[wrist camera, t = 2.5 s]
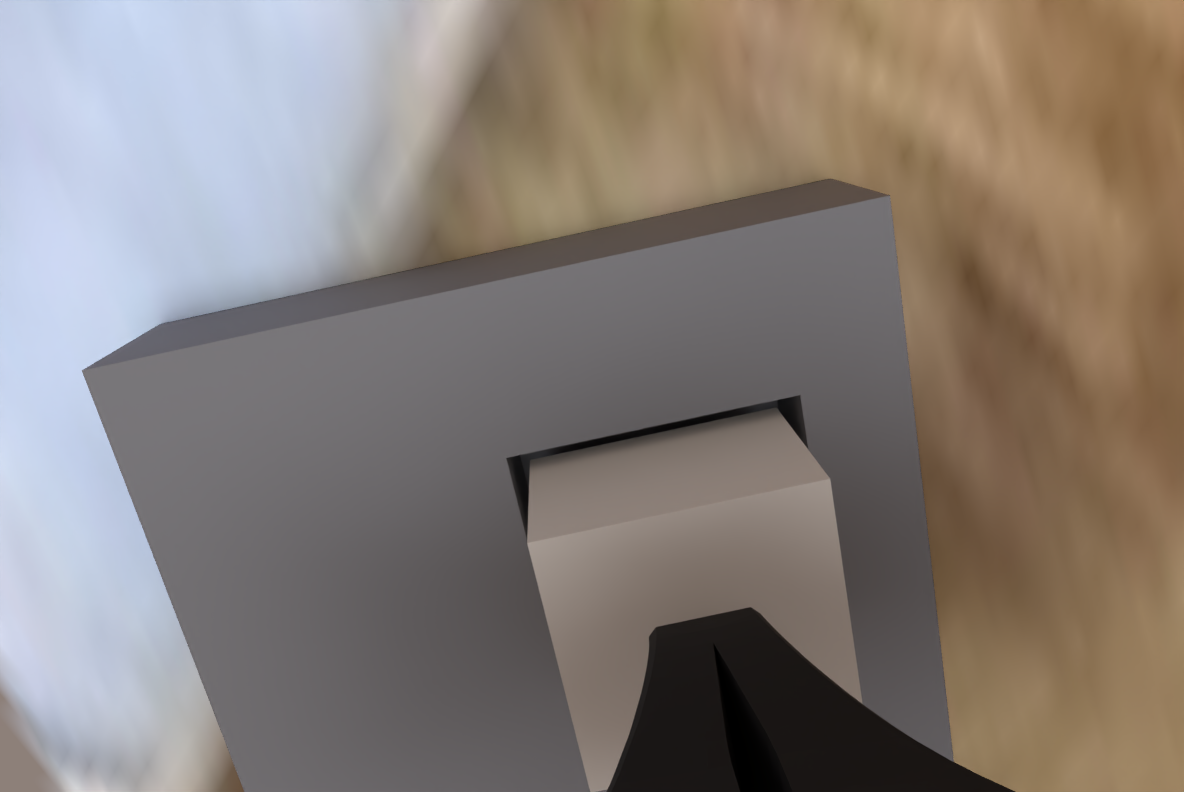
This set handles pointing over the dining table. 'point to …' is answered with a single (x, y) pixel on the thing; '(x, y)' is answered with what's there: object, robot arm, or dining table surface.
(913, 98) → the dining table surface
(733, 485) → the white key
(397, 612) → the key panel
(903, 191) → the dining table surface
